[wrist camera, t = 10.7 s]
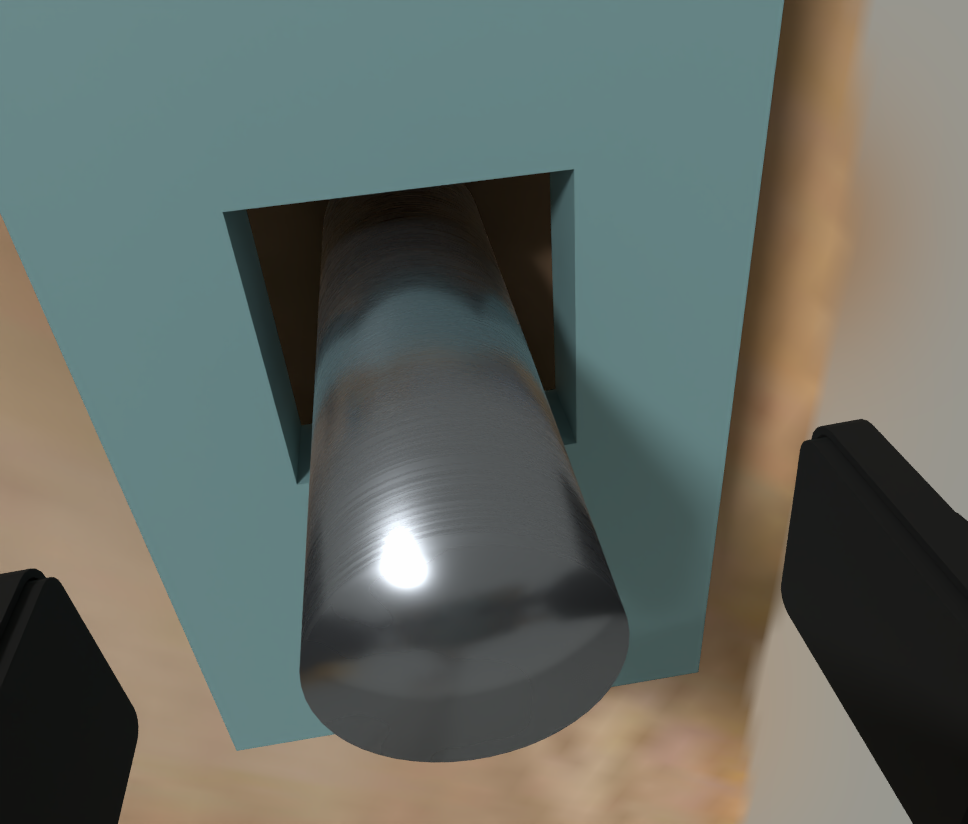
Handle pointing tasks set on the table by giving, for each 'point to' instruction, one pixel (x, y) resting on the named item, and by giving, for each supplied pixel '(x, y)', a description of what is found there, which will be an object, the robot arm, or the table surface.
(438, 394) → the tall pin
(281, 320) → the table surface
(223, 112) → the hole bridge
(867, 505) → the robot arm
